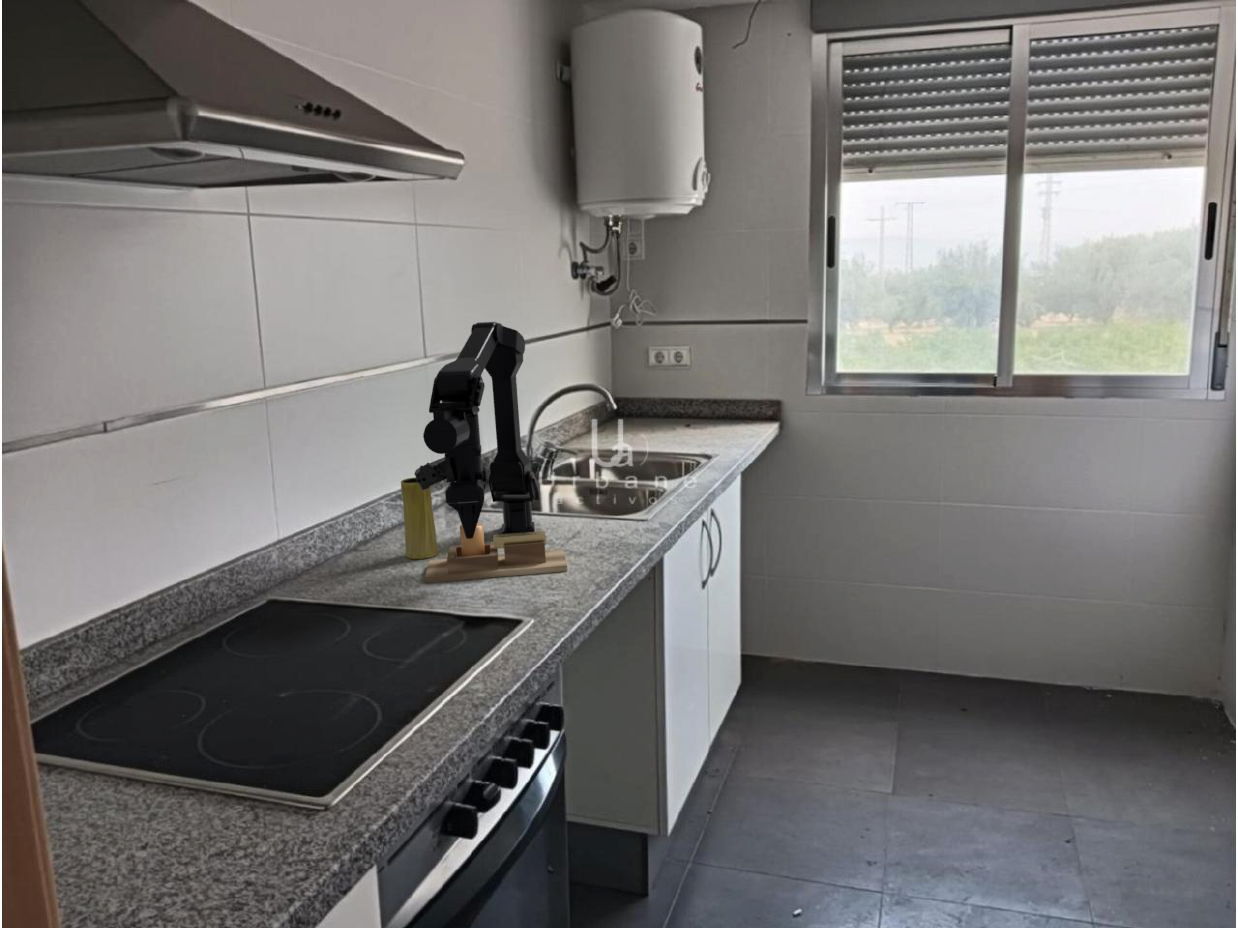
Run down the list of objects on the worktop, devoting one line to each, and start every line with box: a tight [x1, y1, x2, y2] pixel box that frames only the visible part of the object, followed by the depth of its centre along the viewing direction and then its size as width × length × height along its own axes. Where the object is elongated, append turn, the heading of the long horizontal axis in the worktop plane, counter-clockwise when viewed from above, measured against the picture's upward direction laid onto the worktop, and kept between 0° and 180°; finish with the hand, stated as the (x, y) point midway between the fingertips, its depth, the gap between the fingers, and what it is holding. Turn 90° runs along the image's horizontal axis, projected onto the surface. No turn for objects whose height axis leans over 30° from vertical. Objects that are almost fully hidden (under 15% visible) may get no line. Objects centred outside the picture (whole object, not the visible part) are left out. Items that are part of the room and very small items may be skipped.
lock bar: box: [492, 530, 547, 550], centre depth 173 cm, size 2×9×2 cm, turn 96°
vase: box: [400, 476, 440, 560], centre depth 183 cm, size 6×6×14 cm
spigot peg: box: [459, 522, 485, 556], centre depth 172 cm, size 4×4×7 cm
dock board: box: [424, 542, 568, 584], centre depth 173 cm, size 10×24×4 cm, turn 96°
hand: (470, 531), depth 172 cm, fingers open, 9 cm apart
